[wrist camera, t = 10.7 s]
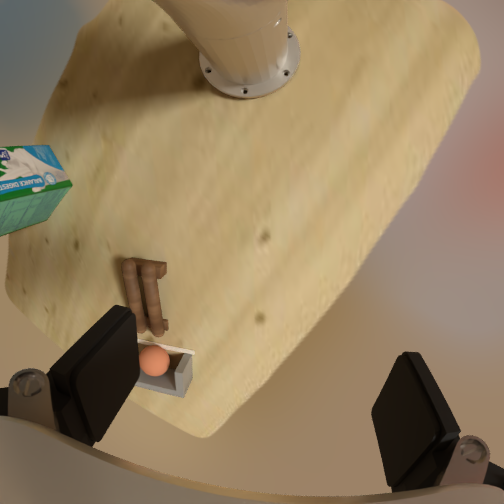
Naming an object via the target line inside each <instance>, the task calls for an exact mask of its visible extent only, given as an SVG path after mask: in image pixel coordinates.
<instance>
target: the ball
mask: <svg viewBox="0 0 504 504" xmlns="http://www.w3.org/2000/svg"><path fill="white" fill-rule="evenodd" d="M139 362H140V367H141V369H142V370H143V371H144V372H145V373H146V374H148V375H150V376H160V375H162V374H164V373H165V372H166V371H167V370H168V368H169V365H170V359H169V356H168V354H167V352H166V351H165V350H164V349H163V348H161V347H159V346H155V345H152V346H148V347H146V348H144V349H143V350H142V351H141V353H140V355H139Z"/></svg>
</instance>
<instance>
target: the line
mask: <svg viewBox="0 0 504 504" xmlns="http://www.w3.org/2000/svg"><path fill="white" fill-rule="evenodd" d="M137 340H138V343H141V344H145V345H149V346H152V345H155V346H159V347H161V348H163V349H167V350H172V351H177V352H182V353H187V354H193V355H195V350H189V349H184V348H179V347H174V346H169V345H164V344H159V343H155V342H150V341H146V340H142V339H137Z"/></svg>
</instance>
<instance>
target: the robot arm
mask: <svg viewBox="0 0 504 504" xmlns="http://www.w3.org/2000/svg"><path fill="white" fill-rule="evenodd" d="M152 1H154V2H155V3H156V4H157V5H158V6H160V7H161V8H162V9H163V10H164V11H165V12H166V13H167V14H168V15H169V16H170V17H171V18H172V19H173V21H174V22H175V23H176V24H177V25H178V27H179V28H180V29H181V30H182V31H183V32H184V33H185V35H186V36H187V37H188V38H189V39H190V40H191V41H192V43H193V44H194V45H195V46H196V47H197V49H198V50H199V63H200V68H201V70H202V72H203V74H204V76H205V77H206V79H207V80H208V81H209V83H210V84H211V85H212V86H214V87H215V88H216V89H218V90H219V91H221V92H223V93H225V94H227V95H229V96H233V97H237V98H247V99H248V98H259V97H263V96H267V95H269V94H272V93H274V92H276V91H278V90H279V89H281V88H282V87H284V86H285V85H286V84H287V83H288V82H289V81H290V80H291V79H292V77H293V76H294V74H295V73H296V70H297V68H298V66H299V61H300V45H299V42H298V39H297V37H296V35H295V33H294V32H293V31H292V29H291V28H290V27H289V26H288V21H287V0H152ZM288 37H291V38H288ZM210 70H211V72H210V73H208V72H209V71H210ZM286 73H287V74H288V76H285V75H284V74H286ZM244 91H247V93H246V94H244V93H243V92H244ZM139 377H140V362H139V352H138V340H137V326H136V315H135V314H134V313H132V310H131V309H130V308H127V307H123V306H119V305H114V306H113V307H112V308H111V309H110V310H109V311H108V312H107V313H106V314H105V315H104V316H103V317H101V318H100V319H99V320H98V321H97V322H96V323H95V324H94V325H93V326H92V327H91V328H90V329H89V330H88V331H87V332H86V333H85V334H84V335H83V336H82V337H81V338H80V339H79V340H78V341H77V342H76V343H75V344H74V345H73V346H72V347H71V348H70V349H69V350H68V351H67V352H66V353H65V354H64V355H63V356H62V357H61V358H60V359H59V360H58V361H57V362H56V363H55V364H54V365H53V366H52V367H51V368H50V371H49V372H48V373H47V374H45V373H44V372H42V371H41V370H38V369H33V368H32V369H31V368H28V369H23V370H21V371H18V372H17V373H15V374H14V375H13V376H12V378H11V379H10V382H9V387H5V388H0V504H504V469H503V468H501V467H499V466H497V465H495V464H493V463H491V462H489V459H490V451H489V448H488V446H487V444H486V443H485V442H484V441H483V440H482V439H480V438H478V437H476V436H473V435H472V436H471V435H470V436H469V435H467V436H464V437H462V438H461V439H460V437H459V435H458V434H459V433H460V432H461V430H460V428H459V426H458V424H457V422H456V420H455V418H454V416H453V414H452V412H451V410H450V408H449V406H448V404H447V402H446V400H445V398H444V396H443V394H442V392H441V390H440V389H439V387H438V385H437V383H436V381H435V379H434V377H433V376H432V374H431V372H430V370H429V368H428V367H427V365H426V363H425V361H424V360H423V358H422V356H421V354H420V353H418V352H403V353H402V355H400V356H398V357H397V359H396V361H395V363H394V366H393V368H392V370H391V372H390V374H389V376H388V378H387V380H386V382H385V384H384V386H383V388H382V390H381V392H380V394H379V396H378V398H377V400H376V402H375V404H374V406H373V408H372V412H371V413H372V414H371V415H372V420H373V424H374V428H375V432H376V436H377V440H378V444H379V449H380V453H381V458H382V462H383V467H384V472H385V476H386V481H387V485H388V486H389V487H391V489H392V493H385V494H375V495H360V496H321V497H320V496H294V495H279V494H269V493H260V492H252V491H245V490H238V489H232V488H226V487H221V486H215V485H210V484H206V483H201V482H197V481H192V480H188V479H184V478H180V477H176V476H173V475H169V474H165V473H162V472H159V471H155V470H152V469H149V468H146V467H143V466H140V465H137V464H134V463H131V462H129V461H126V460H123V459H120V458H118V457H115V456H113V455H110V454H107V453H105V452H102V451H100V450H97V449H95V448H93V447H92V446H93V445H94V443H95V442H99V441H100V440H101V439H102V438H103V436H104V434H105V433H106V431H107V429H108V428H109V426H110V424H111V423H112V421H113V420H114V418H115V416H116V415H117V413H118V411H119V410H120V408H121V407H122V405H123V403H124V402H125V400H126V398H127V397H128V395H129V394H130V392H131V390H132V389H133V387H134V386H135V384H136V382H137V381H138V379H139Z"/></svg>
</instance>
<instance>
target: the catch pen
mask: <svg viewBox="0 0 504 504" xmlns="http://www.w3.org/2000/svg"><path fill="white" fill-rule="evenodd" d="M191 381H192V354H187V353H184V355H183V357H182V359H181V361H180V363H179V364H178V366H177V368H176V370H174V369H170V368H168V370H167V371H166V372H165V373H164V374H162V375H160V376H150V375H148V374H146V373H145V372H144V371H143V370H142V369H141V367H140V377H139V379H138V381H137V382H136V384H135V386H138V387H142V388H145V389H149V390H153V391H157V392H161V393H165V394H169V395H173V396H178V397H182V398H184V397H185V394H186V392H187V390H188V388H189V385H190V383H191Z"/></svg>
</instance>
